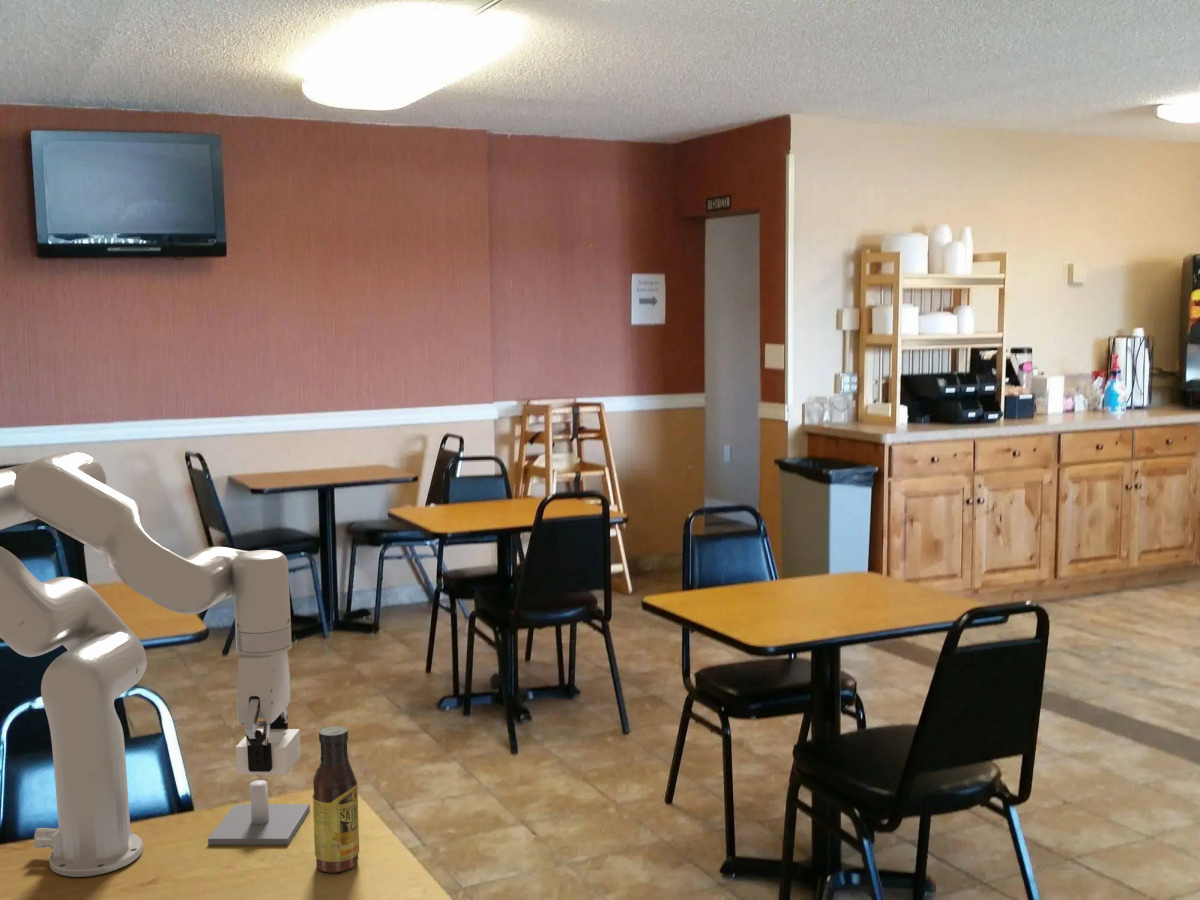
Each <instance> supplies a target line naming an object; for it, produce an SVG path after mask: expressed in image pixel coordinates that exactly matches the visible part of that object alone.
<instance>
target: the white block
mask: <svg viewBox="0 0 1200 900" xmlns="http://www.w3.org/2000/svg"><path fill="white" fill-rule="evenodd" d="M263 729H264V728H257V730H260V731H261V733H262V734H263ZM246 740H247V738H246V736H243V738H242V739H241V740H240V741H239V743H238V744H236V746H235V763H236V765H235V766H236V775H252V776H253V775H254V776H255V775H256V776H257V775H259V776H261V775H263V776H265V775H267V776H268V775H269V776H270V775H271V776H287V775H288V774H289V772H290V771H291V770H292V768H293V767H294V766H295V764H296V763H297V762H298V760H299V759H300V757H301V755H302V753H301V729H300V728H288V729H270V731H269V741H268V743H271V751H272V770H271V771H270V772H251V771H249V769H248V750H247V743H246Z"/></svg>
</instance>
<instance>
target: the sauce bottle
mask: <svg viewBox="0 0 1200 900" xmlns="http://www.w3.org/2000/svg"><path fill="white" fill-rule="evenodd" d="M348 740H349V731H348V728H346V727H344V726H338V725H337V726H329V727H325V728H322V729H321V730H320V731H319V732H318V741H319V744H320V764H319V766H318V768H317V769H316V770H315V774H314V776H313V782H312V784H313V785H312V786H313V794H312V795H313V796H312V806H313V807H312V808H313V811H312V812H313V838H314V839H313V840H314V856H315V858H316V860H315V861H316V867H317V869H318V870H319V871H322V872H325V873H331V874H332V873H333V874H336V873H337V874H338V873H341V872H346V871H348V870H350V869H352V868H355V866H357V864H358V862H359V853H360V829H359V828H360V827H359V822H360V821H359V799H358V797H359V793H358V789H359V788H358V782H357V781H358V780H357V778H356V776H355V775H356V774H355V773H354V771H353V768H352V766H351V763H350V760H349V754H348Z"/></svg>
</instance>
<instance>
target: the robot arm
mask: <svg viewBox="0 0 1200 900" xmlns="http://www.w3.org/2000/svg"><path fill="white" fill-rule="evenodd" d="M141 518H142V508H141V505H139V503H138V502H137V501H136V500H134V499H132V498H130V497H129V496H126V495H125V494H123V493H122V492H119V491H118V490H116V489H113V488H111V487H110V486H108V485H107V476H106V472H105V470H104V468H103V466H102V465H101V464H100V463H99V461H98V460H97V459H95V458H94V457H93V456H91V455H89V454H86V453H84V452H82V451H81V452H80V451H64V452H61V453H57V454H53V455H48V456H44V457H41V458H38V459H35V460H33V461H31V462H27V463H23V464H19V465H15V466H10V467H7V468H6V467H5V468H1V469H0V531H2V530H4V529H7V528H9V527H12V526H16V525H17V526H18V525H19V524H23V523H26V522H31V521H35V520H37V519H38V520H40V521H41V522H44V523H45V524H48V525H49V526H50V527H53V528H54V529H56V530H57V531H60V532H62V533H63V534H66V535H67V536H69V537H70V538H73V539H74V540H77V541H78V542H80V543H81V544H83V545H85V546H87V547H88V548H91V549H93V550H95V551H96V552H97V553H100V554H101V555H102V556H103V557H104V558H105V560H106V562H107V563H108V565H109V567H110V568H111V570H112V571H113V572H114V573H115V574H116V575H117V577H119V578H120V579H119V580H121V581H122V582H123V583H124V584H125V585H126V586H127V587H129V588H130V589H131V590H133V591H134V592H136V593H137V594H140V595H141V596H142V597H144V598H146V599H148V600H150V601H152V602H153V603H155V604H157V605H159V606H161V607H162V608H165V609H166V610H169V611H172V612H174V613H178V614H181V615H197V614H200V613H203V612H204V611H206V610H208V609H210V608H211V607H213V606H215V605H216V604H217V603H219V602H222V601H225V600H227V599H229V598H232V597H233V610H234V626H235V631H234V632H235V650H236V653H237V654H238V655H239V657H238V665H237V678H236V679H237V682H236V717H237V718H236V719H237V723H238V725H241V726H242V725H243V732H244V733H245V736H246V738H247V740H246V743H247V750H248V769H249V771H251V772H270V771H271V770H272V751H271V743H268V741H269V731H270V729H289V723H288V720H289V714H288V710H287V707H288V705H289V704H290V701H291V676H290V675H291V673H290V664H289V663H290V661H289V653H288V651H290V650H291V649H292V646H293V645H292V621H291V601H290V600H291V598H290V578H289V577H290V575H289V561H288V558H287V556H286V555H285V554H284V553H283V552H281V551H278V550H271V549H259V550H258V549H257V550H242V549H237V548H231V547H226V546H210V547H207V548H204V549H202V550H200V551H198V552H196V553H193V554H191V555H189V556H188V557H185V558H184V557H183V556H181V555H179V554H177V553H175V552H173V551H171V550H169V549H168V548H166V547H164V546H163V545H161V544H159V543H158V542H157V541H155V540H154V539H153V538H152V537H150V536H149V535H148V534H147V533H146V532H145V530H144V528H143V527H142V524H141ZM0 638H1V639H2V640H3V642H4V643H6V645H7V646H9V648H10V649H12V650H13V651H14V652H15V653H17V654H18V655H21V656H23V657H27V658H33V657H38V656H39V657H40V656H42V655H45V654H47V653H49V652H51V651H54V650H55V649H57V648H59V647H61V646H63V647H64V648H65V649H66V651H65V652H63V653H62V654H60V655H59V656H58V657H56V658H55V659H54V660H53V661H52V662H51V663H50V664H49V666H48V667H47V668H46V670H45V672H44V674H43V676H42V679H41V685H40V693H41V700H42V703H43V707H44V710H45V713H46V716H47V721H48V727H49V731H50V738H51V747H52V748H51V749H52V761H53V769H54V770H53V772H54V784H55V795H56V797H55V798H56V811H57V824H58V826H57V828H51V827H37V828H36V829H35V832H34V847H35V848H37V849H38V848H39V849H40V848H43V849H44V848H50V849H51V850H52V852H51V854H50V855H49V858H48V861H49V868H50V869H51V870H52V871H53V872H54V873H56V874H58V875H59V876H60V875H61V876H65V877H72V878H83V877H84V878H85V877H93V876H99V875H103V874H107V873H111V872H113V871H117V870H120V869H122V868H123V867H124V868H125V867H126V866H127V865H130V864H131V863H133V862H134V861H135V860H137V859H139V857H140V856H141V854H142V853H143V849H144V846H143V845H144V844H143V840H142V838H141V837H140V836H139V835H137V834H136V833H133V832H132V831H131V819H130V806H129V805H130V804H129V790H128V775H127V773H128V772H127V759H126V749H125V748H126V747H125V736H124V730H123V726H122V723H121V720H120V718H119V715H118V714H117V711H116V708H115V704H114V703H115V700H116V699H119V697H120V696H121V695H122V694H124V693H127V692H128V691H129V690H130V689H132V688H133V687H134V686H135V685H137V684H138V682H139V681H140V680H141V679H142V678H143V676H144V674H145V672H146V669H147V663H148V660H147V654H146V650H145V648H144V646H143V643H142V642H141V641H140V639H139V638H138V636H137V635H136V634H135V633H134V632H133V631H132V629H131V628H130V627H129V626H128V625H127V624H126V622H124V620H123V619H122V618H121V617H120V616H119V615H118V614H117V612H116V611H115V610H114V609H113V608H112V607H111V606H110V605H109V604H108V602H107V601H106V600H105V599H104V598H103V597H102V596H101V594H99V593H98V592H97V591H96V590H95V588H93V587H91V586H90V585H89V584H88V583H86V582H85V581H83V580H80V579H78V578H74V577H70V576H58V577H54V578H51V579H50V578H49V579H47V580H46V581H42V582H41V581H40V580H39V579H38V578H37V577H36V576H35V575H34V574H33V573H31V572H30V570H29V569H28V568H26V566H25V565H24V563H22V561H21V560H20V559H19V558H18V557H17V556H16V555H15V554H13V553H12V552H10V551H9V550H8V549H6V548H4V547H3V546H0ZM258 719H265V720H264V721H259V720H258ZM260 727H263V728H262V729H263V734H262V733H261V731H260V730H257V729H258V728H260ZM245 736H244V737H245Z"/></svg>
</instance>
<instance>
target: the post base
mask: <svg viewBox="0 0 1200 900" xmlns="http://www.w3.org/2000/svg"><path fill="white" fill-rule="evenodd" d="M268 793H269V792H268V781H266V780H264V779H263V780H262V779H261V780H260V779H259V780H254V781H252V782H250V783H249V797H250V798H249V799H250V803H249V804H245V803H244V804H243V803H242V804H241V805H239V803H235V804H234V805H236V806H234V805H233V806H232V807H231V808H230V810H229V811H228V812H227V814H226V815H225V816H224V817H223V819H222V820H221V821H220V823H219V824H218V825H217V826H216V828H215V829H214V830H213V831H212V833H211V834H210V835H209V836H208V838H207V845H208V846H289V844H290V843H291V841H292V840H293V838H294V836H295V834H296V833H297V831H298V830H299V829H300V827H301V825H302V824H303V822H304V820H305V819H306V817H307V816H308V814H309V812H310V811H311V808H310V806H311V805H310V803H307V804H305V803H303V804H302V803H297V804H295V803H289V804H287V803H283V804H282V803H279V804H278V803H277V804H276V803H274V804H273V803H272V804H269V794H268Z"/></svg>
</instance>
